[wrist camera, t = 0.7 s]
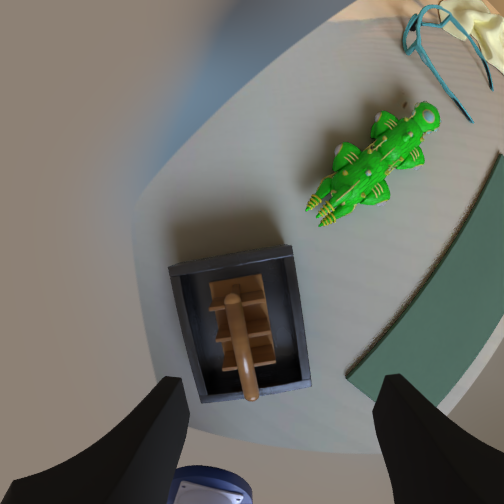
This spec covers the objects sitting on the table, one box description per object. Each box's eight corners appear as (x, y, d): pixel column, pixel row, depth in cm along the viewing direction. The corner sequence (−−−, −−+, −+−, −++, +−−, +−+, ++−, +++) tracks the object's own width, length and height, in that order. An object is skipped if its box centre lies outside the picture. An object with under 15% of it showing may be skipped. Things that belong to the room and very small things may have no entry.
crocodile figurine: (440, 141, 26) (462, 130, 21) (331, 248, 26) (347, 250, 22) (402, 94, 25) (421, 77, 21) (283, 191, 26) (291, 182, 21)
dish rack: (275, 358, 26) (285, 399, 18) (227, 365, 26) (221, 408, 18) (261, 273, 25) (267, 287, 18) (209, 281, 25) (194, 300, 18)
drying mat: (411, 428, 27) (413, 431, 27) (345, 377, 27) (346, 379, 26) (539, 229, 27) (542, 229, 26) (499, 154, 26) (502, 153, 25)
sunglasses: (424, 9, 25) (442, -6, 20) (489, 88, 27) (510, 79, 22) (380, 40, 25) (399, 20, 20) (459, 135, 27) (486, 127, 22)
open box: (304, 368, 27) (311, 386, 23) (206, 383, 27) (201, 403, 23) (285, 244, 26) (291, 245, 22) (178, 262, 26) (167, 266, 22)
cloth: (461, -15, 24) (475, -30, 18) (525, 59, 25) (543, 48, 19) (412, 1, 25) (429, -22, 18) (498, 98, 26) (524, 85, 19)
